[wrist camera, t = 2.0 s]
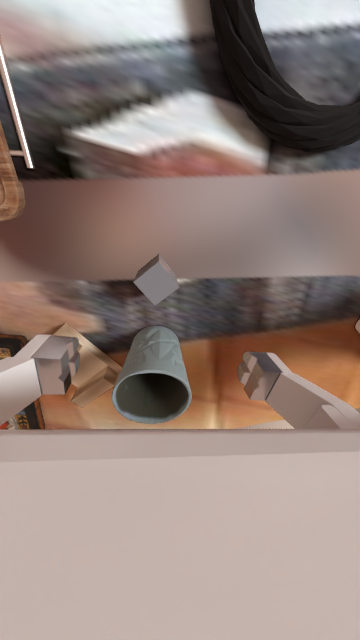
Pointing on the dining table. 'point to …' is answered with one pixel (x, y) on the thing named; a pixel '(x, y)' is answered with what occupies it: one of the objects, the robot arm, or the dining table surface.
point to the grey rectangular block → (156, 280)
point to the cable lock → (275, 86)
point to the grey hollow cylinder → (153, 379)
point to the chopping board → (12, 153)
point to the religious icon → (30, 415)
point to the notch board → (90, 369)
